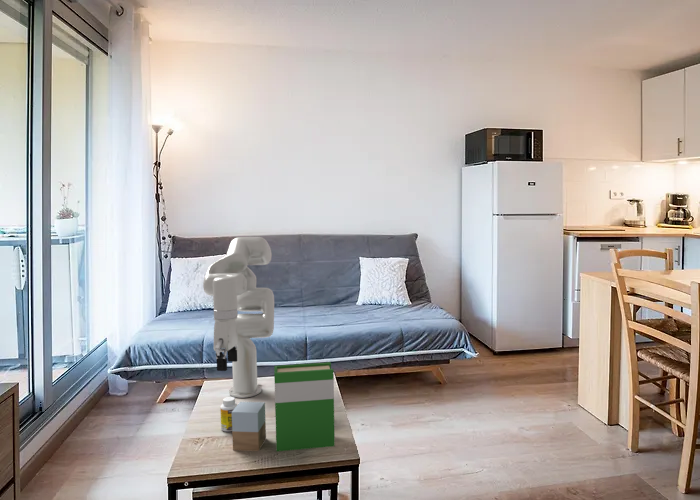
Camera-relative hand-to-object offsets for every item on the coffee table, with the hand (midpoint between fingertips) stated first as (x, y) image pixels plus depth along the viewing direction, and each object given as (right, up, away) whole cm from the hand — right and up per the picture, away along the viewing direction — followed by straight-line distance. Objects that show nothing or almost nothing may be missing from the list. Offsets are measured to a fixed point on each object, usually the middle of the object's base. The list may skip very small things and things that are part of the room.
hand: (227, 365), depth 159 cm
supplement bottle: (0, -22, +2) cm, 22 cm away
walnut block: (+9, -22, -9) cm, 26 cm away
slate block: (+9, -16, -9) cm, 21 cm away
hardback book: (+26, -22, -9) cm, 35 cm away
